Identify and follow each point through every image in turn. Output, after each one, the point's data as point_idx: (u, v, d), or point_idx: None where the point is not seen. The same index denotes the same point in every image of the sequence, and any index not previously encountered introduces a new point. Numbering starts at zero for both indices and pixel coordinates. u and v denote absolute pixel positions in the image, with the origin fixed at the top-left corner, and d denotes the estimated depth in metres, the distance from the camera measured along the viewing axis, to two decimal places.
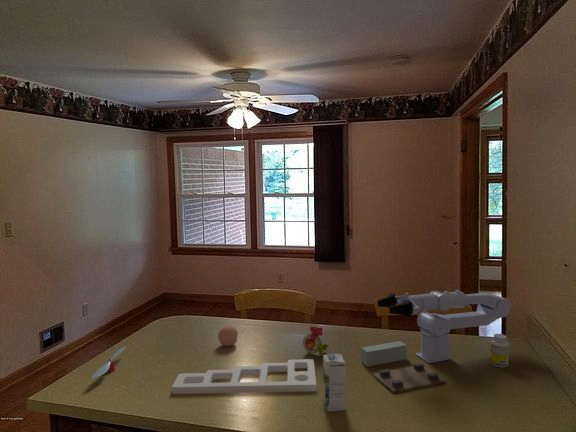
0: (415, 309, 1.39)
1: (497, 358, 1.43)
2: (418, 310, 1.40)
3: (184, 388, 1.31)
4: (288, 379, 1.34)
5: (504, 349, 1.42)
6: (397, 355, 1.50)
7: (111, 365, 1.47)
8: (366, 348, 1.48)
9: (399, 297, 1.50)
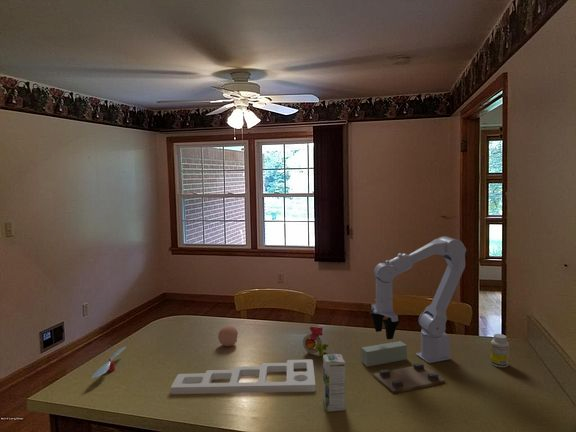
0: (394, 320, 1.42)
1: (497, 358, 1.43)
2: (395, 317, 1.42)
3: (183, 388, 1.30)
4: (287, 379, 1.34)
5: (504, 349, 1.42)
6: (397, 355, 1.50)
7: (111, 365, 1.47)
8: (366, 348, 1.48)
9: None
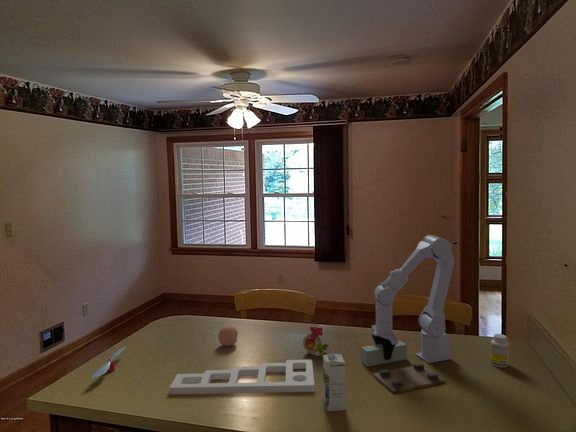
0: (394, 343, 1.42)
1: (497, 358, 1.43)
2: (395, 340, 1.42)
3: (182, 389, 1.30)
4: (286, 379, 1.33)
5: (504, 349, 1.42)
6: (397, 355, 1.50)
7: (111, 365, 1.47)
8: (366, 347, 1.48)
9: None
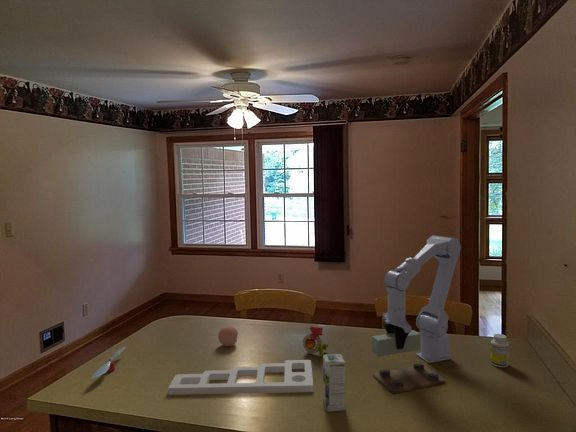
0: (407, 331, 1.34)
1: (497, 358, 1.43)
2: (408, 328, 1.34)
3: (181, 389, 1.30)
4: (285, 380, 1.33)
5: (504, 349, 1.42)
6: (410, 344, 1.41)
7: (111, 365, 1.47)
8: (377, 337, 1.40)
9: None
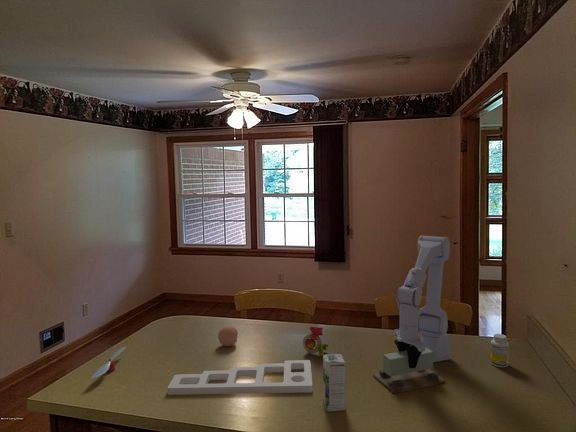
0: (421, 350, 1.28)
1: (497, 358, 1.43)
2: (422, 346, 1.28)
3: (180, 389, 1.30)
4: (284, 380, 1.33)
5: (504, 349, 1.42)
6: (423, 363, 1.35)
7: (111, 365, 1.47)
8: (389, 355, 1.34)
9: None
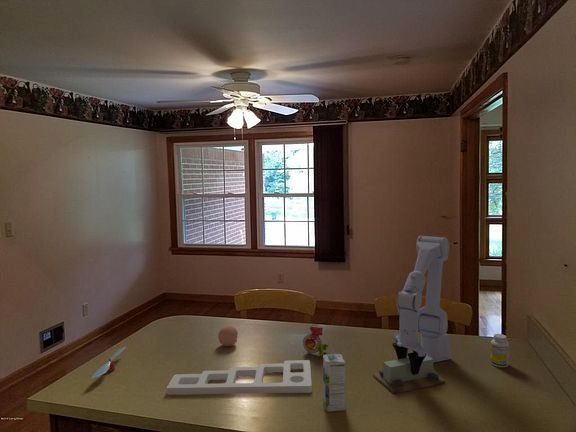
0: (421, 355, 1.28)
1: (497, 358, 1.43)
2: (422, 351, 1.28)
3: (179, 389, 1.30)
4: (283, 380, 1.33)
5: (504, 349, 1.42)
6: (423, 370, 1.35)
7: (111, 365, 1.47)
8: (389, 363, 1.34)
9: None
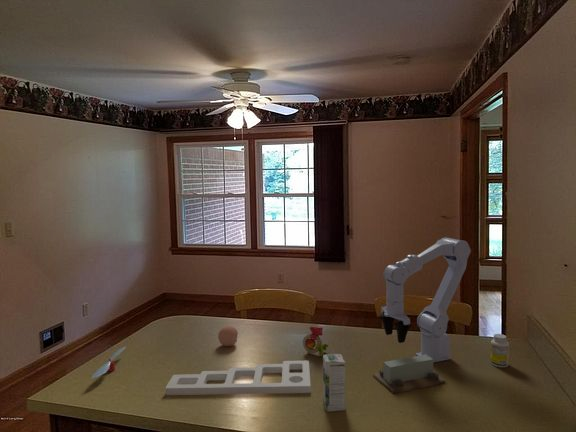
0: (406, 323, 1.39)
1: (497, 358, 1.43)
2: (407, 320, 1.39)
3: (178, 389, 1.30)
4: (282, 380, 1.33)
5: (504, 349, 1.42)
6: (423, 370, 1.35)
7: (111, 365, 1.47)
8: (389, 363, 1.34)
9: None
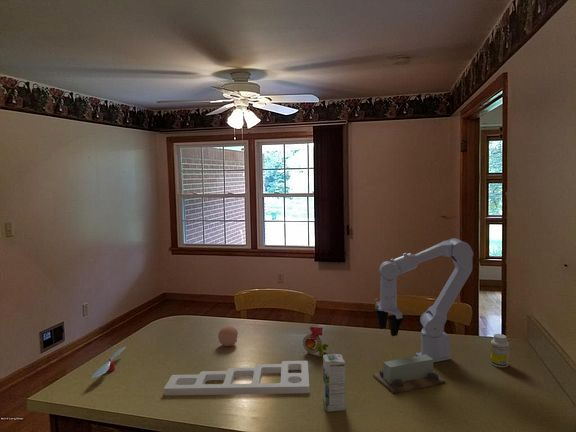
0: (398, 317, 1.45)
1: (497, 358, 1.43)
2: (399, 314, 1.45)
3: (176, 390, 1.30)
4: (281, 381, 1.33)
5: (504, 349, 1.42)
6: (423, 370, 1.35)
7: (111, 365, 1.47)
8: (389, 363, 1.34)
9: None
